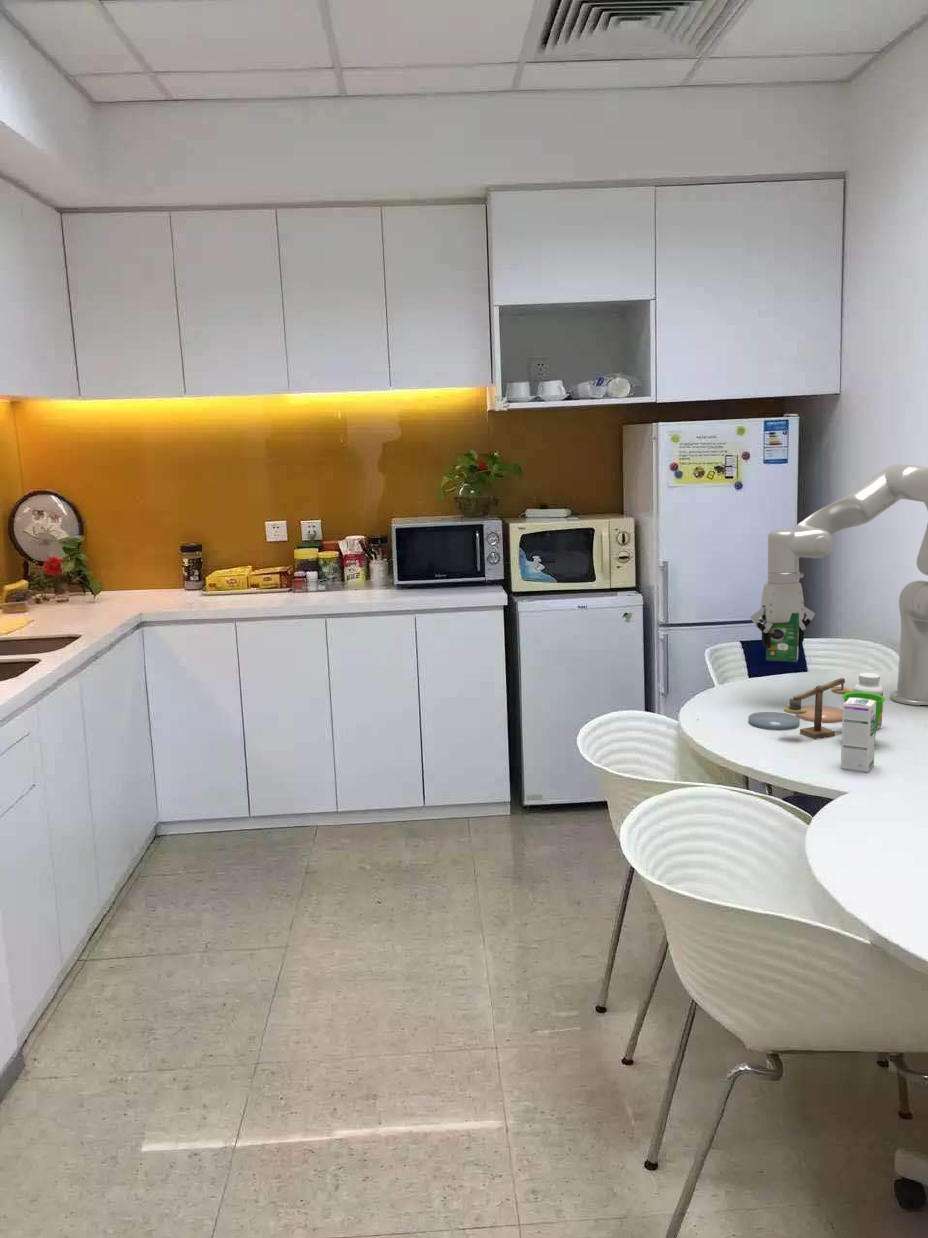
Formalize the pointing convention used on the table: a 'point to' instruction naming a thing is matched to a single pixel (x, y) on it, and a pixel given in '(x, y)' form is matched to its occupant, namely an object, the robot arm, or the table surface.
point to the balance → (816, 707)
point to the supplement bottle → (870, 688)
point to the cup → (866, 695)
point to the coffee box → (784, 640)
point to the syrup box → (858, 734)
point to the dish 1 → (774, 721)
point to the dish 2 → (828, 714)
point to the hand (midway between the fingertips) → (782, 645)
